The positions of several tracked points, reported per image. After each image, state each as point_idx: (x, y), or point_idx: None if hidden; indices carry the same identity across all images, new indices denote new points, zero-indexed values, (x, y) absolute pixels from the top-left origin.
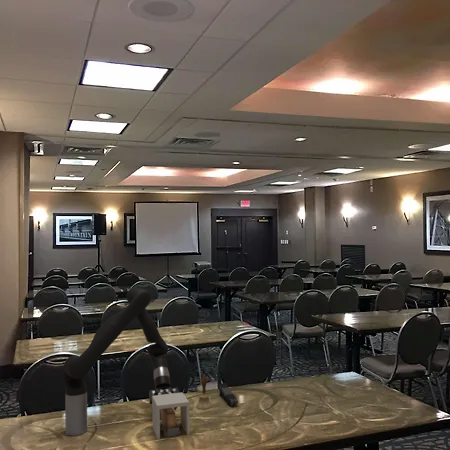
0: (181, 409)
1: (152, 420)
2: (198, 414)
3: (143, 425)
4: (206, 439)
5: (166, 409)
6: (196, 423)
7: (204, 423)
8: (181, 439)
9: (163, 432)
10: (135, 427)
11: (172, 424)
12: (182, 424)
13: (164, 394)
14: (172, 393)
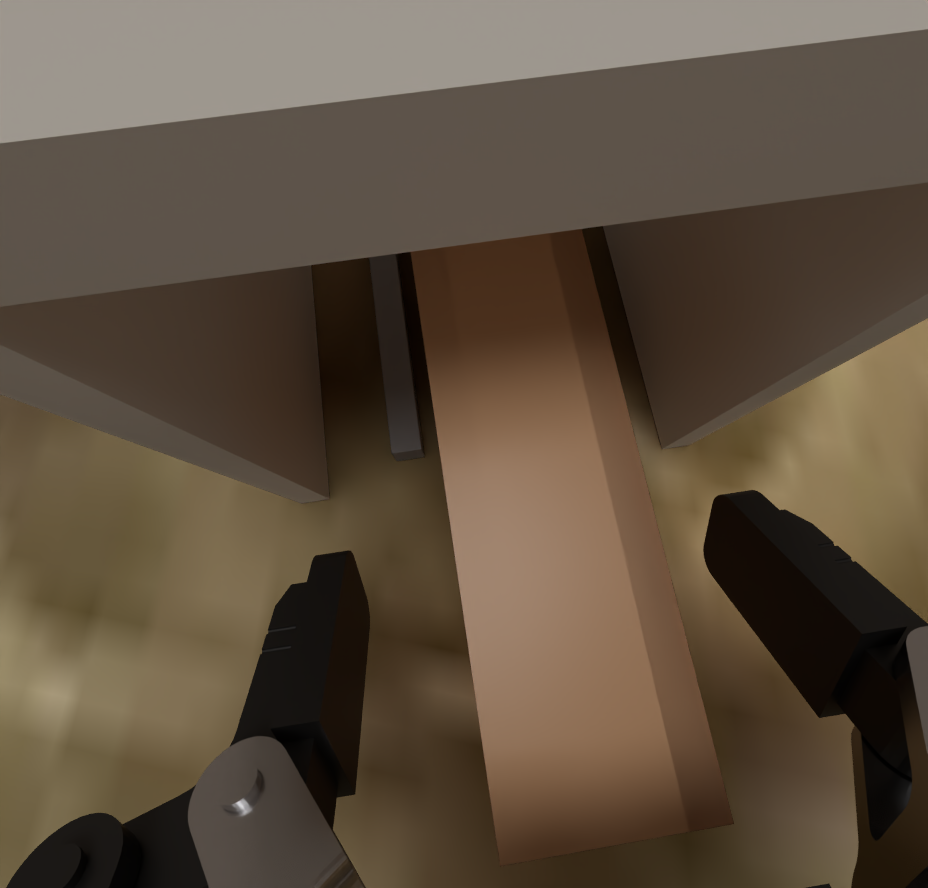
0: (228, 346)
1: (733, 419)
2: (2, 813)
3: (815, 519)
4: None
5: (548, 267)
6: (135, 453)
7: (40, 434)
8: None
9: None
10: (907, 471)
11: None
12: (313, 382)
13: (837, 27)
14: (266, 104)
